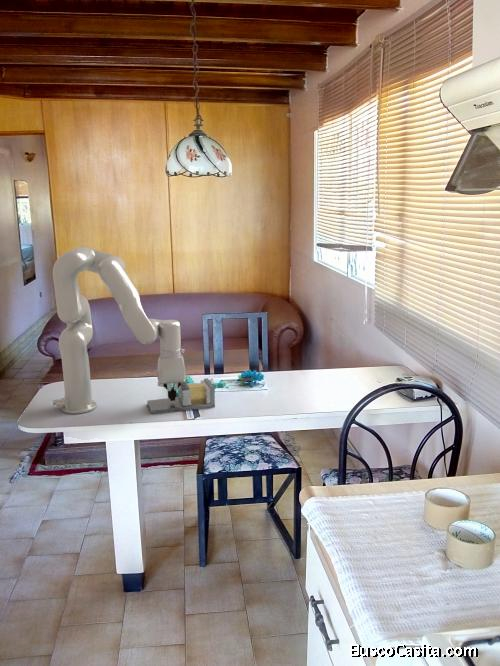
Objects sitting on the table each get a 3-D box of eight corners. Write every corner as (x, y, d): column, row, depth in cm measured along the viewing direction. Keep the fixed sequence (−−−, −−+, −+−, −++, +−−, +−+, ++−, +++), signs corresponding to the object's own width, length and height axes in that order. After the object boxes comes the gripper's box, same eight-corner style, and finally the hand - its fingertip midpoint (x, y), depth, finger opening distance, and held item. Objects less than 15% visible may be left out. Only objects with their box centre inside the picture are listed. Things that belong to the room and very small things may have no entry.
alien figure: (186, 380, 244) (158, 394, 227) (186, 375, 244) (158, 389, 226) (225, 387, 235) (200, 402, 218) (225, 382, 235) (200, 396, 217)
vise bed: (151, 414, 204) (150, 393, 203) (147, 404, 215) (146, 384, 213) (214, 407, 211) (214, 387, 210) (208, 397, 222) (207, 378, 220)
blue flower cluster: (267, 378, 239) (260, 367, 231) (265, 391, 236) (259, 380, 228) (242, 380, 242) (235, 369, 234) (241, 392, 239) (233, 381, 231)
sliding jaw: (183, 406, 208) (182, 389, 206) (178, 397, 217) (177, 380, 216) (191, 405, 209) (190, 388, 207) (185, 396, 218) (185, 380, 217)
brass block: (189, 402, 212) (189, 387, 210) (187, 399, 216) (186, 384, 214) (204, 401, 214) (204, 386, 212) (202, 397, 217) (202, 382, 216)
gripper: (188, 349, 213) (189, 394, 217) (149, 352, 208) (151, 398, 213) (192, 354, 206) (193, 401, 210) (152, 357, 201) (154, 405, 206)
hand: (172, 399), depth 211 cm, fingers closed
